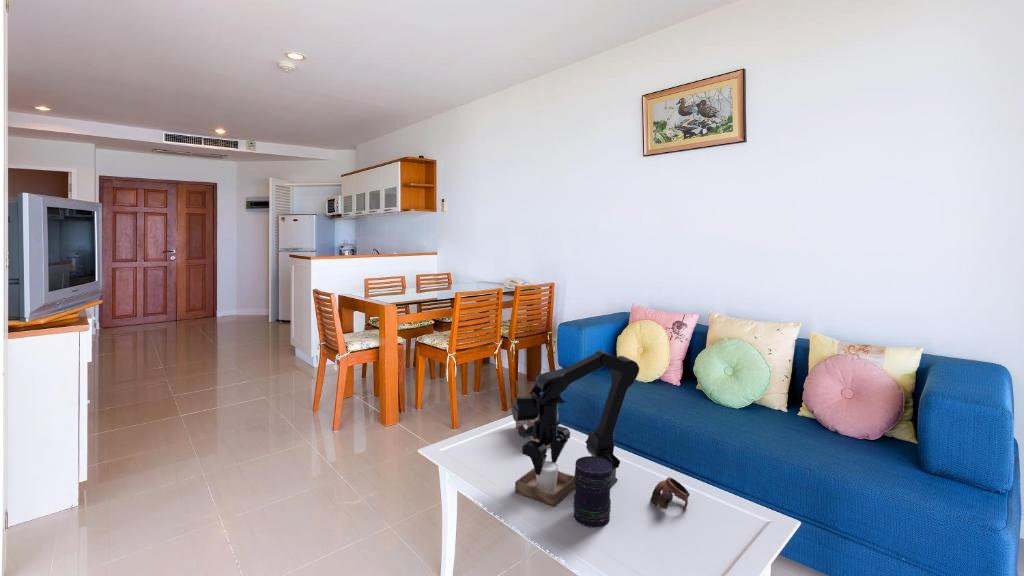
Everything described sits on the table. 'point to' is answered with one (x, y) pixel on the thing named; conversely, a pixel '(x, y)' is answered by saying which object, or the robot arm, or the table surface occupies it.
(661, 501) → the brown hollow curved piece
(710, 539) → the table surface
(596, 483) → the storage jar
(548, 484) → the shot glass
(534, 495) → the walnut crate
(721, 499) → the table surface
